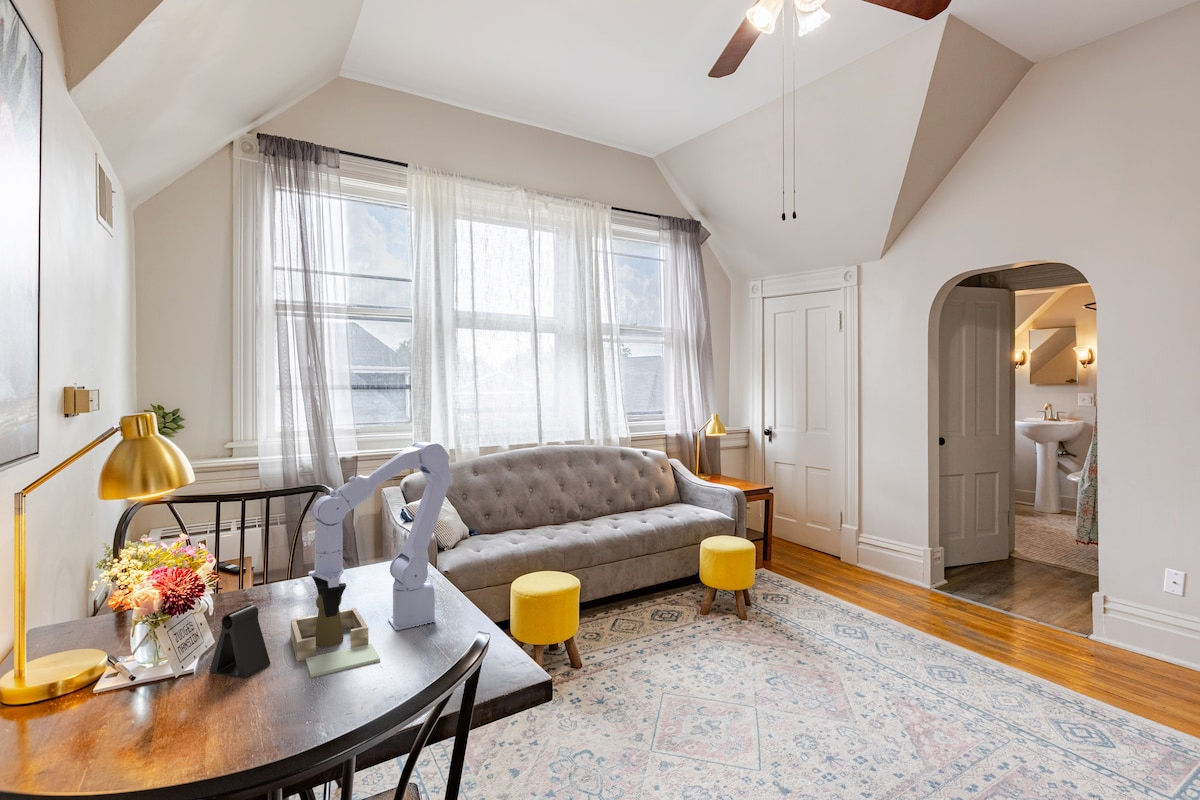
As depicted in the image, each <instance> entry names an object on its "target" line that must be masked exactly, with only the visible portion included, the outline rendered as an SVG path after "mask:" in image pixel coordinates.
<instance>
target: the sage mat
mask: <svg viewBox="0 0 1200 800" xmlns="http://www.w3.org/2000/svg"><path fill="white" fill-rule="evenodd" d="M374 662H375V663H379V662H381V658H380V656H379V654H378V652H377V651H376V649H375V647H374V645H373V644H372V643H368V645H363V646H359V647H354V648H351V647H350V648H347V649H341V650H336V651H332V652H327V653H322V654H318V655H316V656H313V657H309V658H306V659H305V663H306V666H307V669H308V670H307V671H308V672H309V673H308V674H309V676H310V678H316V677H319V676H324V675H328V674H331V673H336V672H341V671H344V670H349V669H353V668H357V667H361V666H366V665H370V664H374Z"/></svg>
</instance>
